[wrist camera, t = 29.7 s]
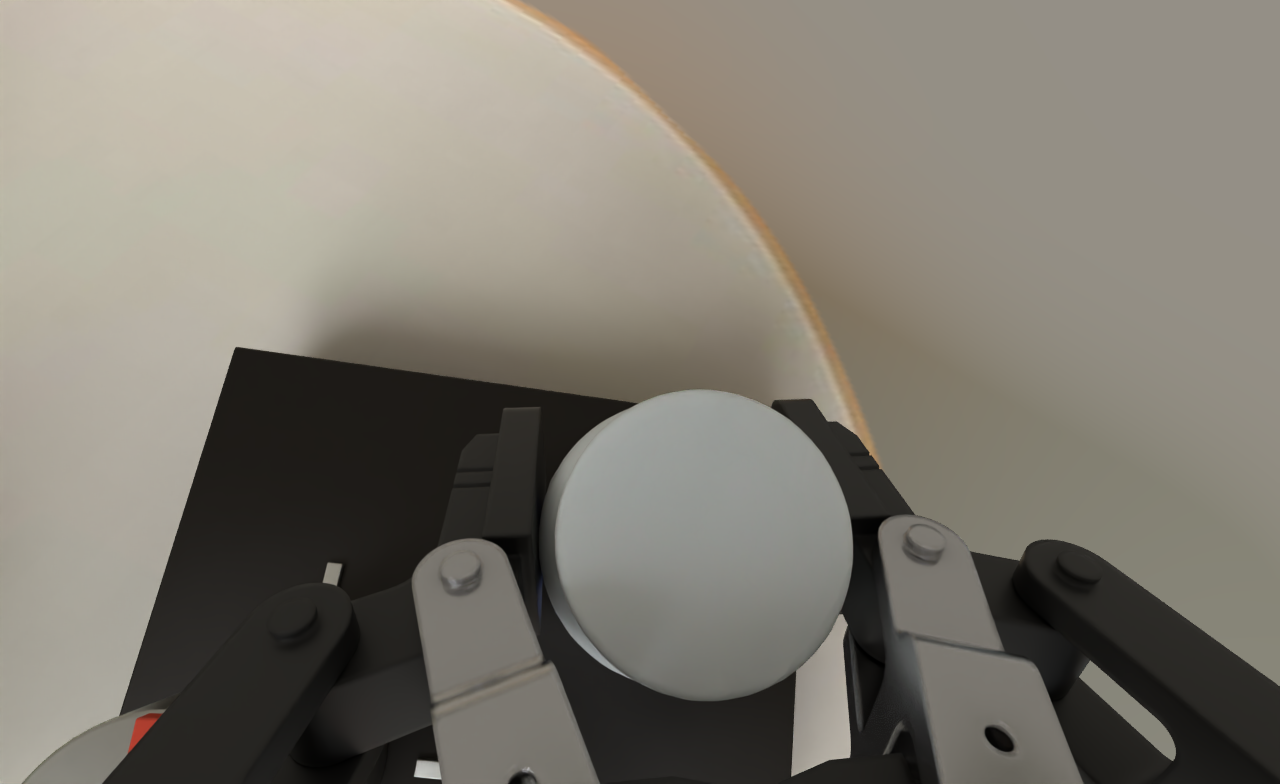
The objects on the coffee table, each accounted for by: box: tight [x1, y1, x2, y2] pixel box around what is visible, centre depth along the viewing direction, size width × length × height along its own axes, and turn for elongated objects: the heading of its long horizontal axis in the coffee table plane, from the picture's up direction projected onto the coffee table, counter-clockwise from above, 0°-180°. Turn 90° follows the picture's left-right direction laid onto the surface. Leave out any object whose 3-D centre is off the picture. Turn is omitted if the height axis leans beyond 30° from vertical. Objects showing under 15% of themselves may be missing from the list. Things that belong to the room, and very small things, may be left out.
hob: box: [119, 347, 796, 784], centre depth 16 cm, size 16×14×3 cm
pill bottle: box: [539, 389, 853, 701], centre depth 12 cm, size 5×5×8 cm
